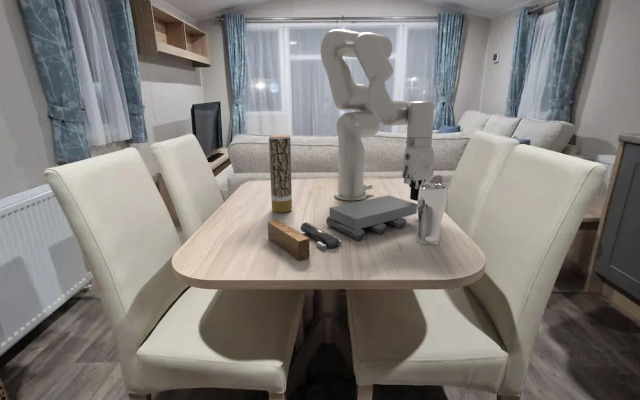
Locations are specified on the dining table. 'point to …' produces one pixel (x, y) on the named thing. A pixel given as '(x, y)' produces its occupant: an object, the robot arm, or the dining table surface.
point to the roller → (320, 235)
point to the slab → (372, 211)
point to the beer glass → (430, 212)
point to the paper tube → (280, 173)
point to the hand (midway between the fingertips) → (415, 199)
